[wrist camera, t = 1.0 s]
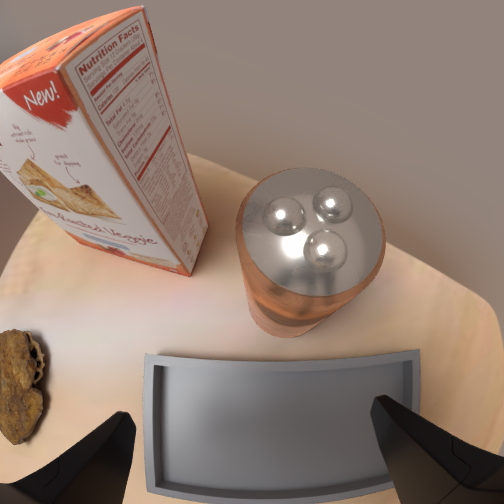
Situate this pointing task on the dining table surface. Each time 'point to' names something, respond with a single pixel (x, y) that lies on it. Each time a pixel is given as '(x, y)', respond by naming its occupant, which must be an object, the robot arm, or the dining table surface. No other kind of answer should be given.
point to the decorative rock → (19, 385)
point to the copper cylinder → (306, 248)
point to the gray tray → (270, 427)
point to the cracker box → (102, 142)
